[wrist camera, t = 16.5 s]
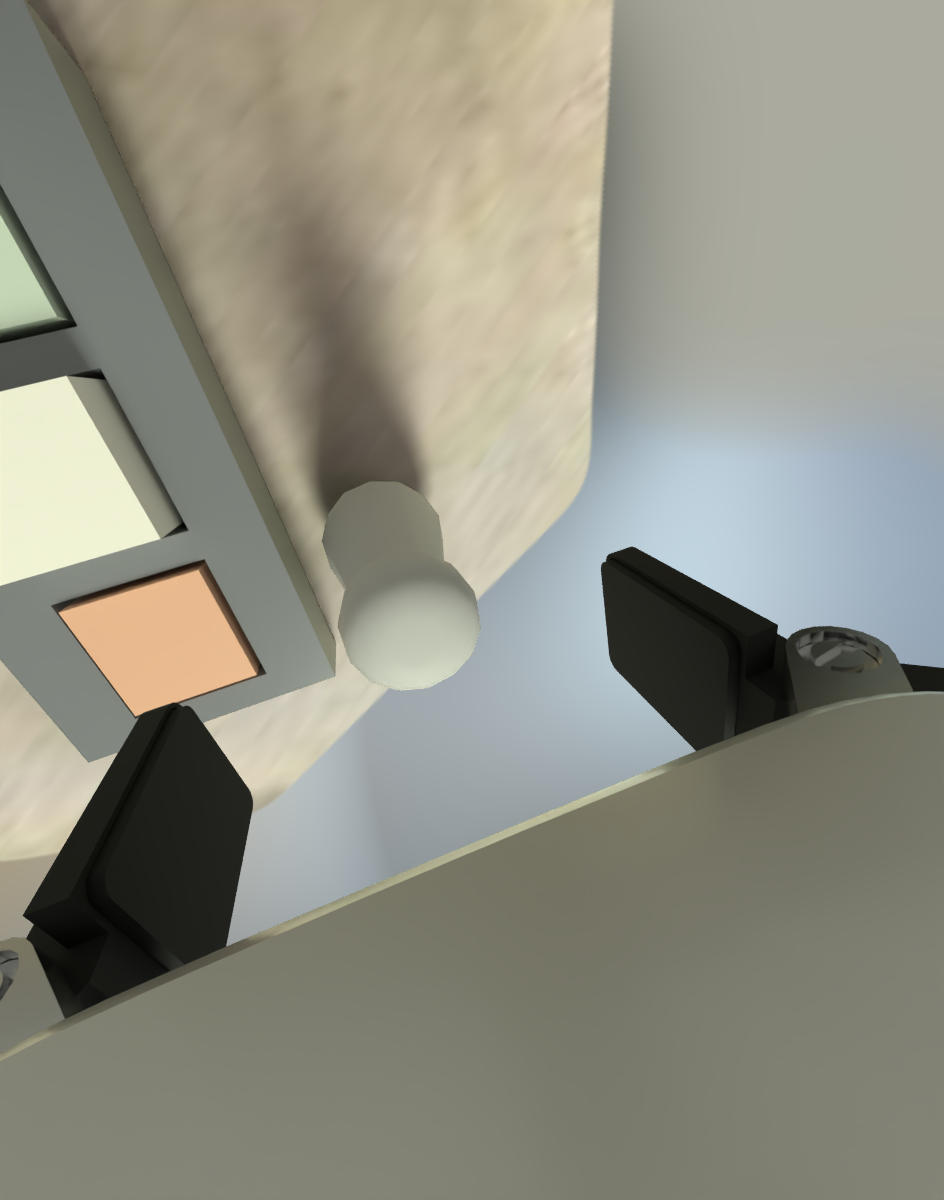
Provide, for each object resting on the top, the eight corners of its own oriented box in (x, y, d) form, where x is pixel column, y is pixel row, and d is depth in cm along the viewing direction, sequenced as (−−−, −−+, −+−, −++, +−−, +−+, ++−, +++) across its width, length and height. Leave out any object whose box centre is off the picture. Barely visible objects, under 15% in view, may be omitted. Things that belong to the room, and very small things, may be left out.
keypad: (-322, 136, 14) (-515, 59, 11) (84, 74, 16) (19, -10, 13) (121, 716, 25) (88, 762, 22) (336, 643, 26) (335, 676, 23)
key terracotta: (100, 582, 22) (58, 613, 18) (218, 546, 22) (198, 570, 19) (162, 674, 24) (135, 716, 21) (267, 640, 25) (256, 674, 22)
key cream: (-41, 419, 17) (-131, 422, 14) (116, 381, 18) (66, 375, 14) (55, 556, 19) (-2, 586, 16) (189, 517, 20) (160, 538, 17)
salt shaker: (370, 449, 23) (404, 495, 11) (454, 519, 25) (550, 615, 14) (301, 538, 24) (266, 666, 12) (389, 598, 26) (428, 750, 15)
